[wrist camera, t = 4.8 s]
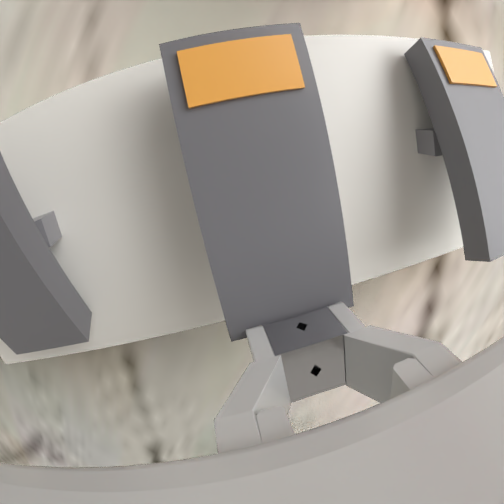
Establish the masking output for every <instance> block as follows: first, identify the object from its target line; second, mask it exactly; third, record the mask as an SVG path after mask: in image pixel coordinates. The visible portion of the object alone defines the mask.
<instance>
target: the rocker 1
mask: <svg viewBox="0 0 504 504" xmlns="http://www.w3.org/2000/svg"><path fill="white" fill-rule="evenodd" d="M91 317H92V312H91V311H90V309H89V308H88V306H87V305H86V304H85V302H84V301H83V299H82V298H81V296H80V295H79V293H78V292H77V291H76V289H75V288H74V286H73V285H72V283H71V282H70V280H69V279H68V277H67V275H66V274H65V272H64V271H63V269H62V268H61V266H60V265H59V263H58V261H57V260H56V258H55V256H54V255H53V253H52V252H51V250H50V248H49V247H48V245H47V243H46V241H45V240H44V238H43V236H42V235H41V233H40V231H39V229H38V227H37V226H36V224H35V222H34V220H33V218H32V217H31V215H30V213H29V211H28V209H27V207H26V205H25V203H24V201H23V199H22V197H21V195H20V193H19V191H18V189H17V187H16V185H15V183H14V181H13V179H12V177H11V175H10V173H9V170H8V168H7V166H6V164H5V162H4V159H3V157H2V155H1V152H0V339H1V340H2V341H3V342H4V343H5V344H6V345H7V346H8V347H9V348H10V349H11V350H12V351H13V352H14V353H16V354H17V355H18V354H24V353H30V352H36V351H41V350H47V349H53V348H58V347H63V346H69V345H74V344H79V343H84V342H89V336H90V326H91Z"/></svg>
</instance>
